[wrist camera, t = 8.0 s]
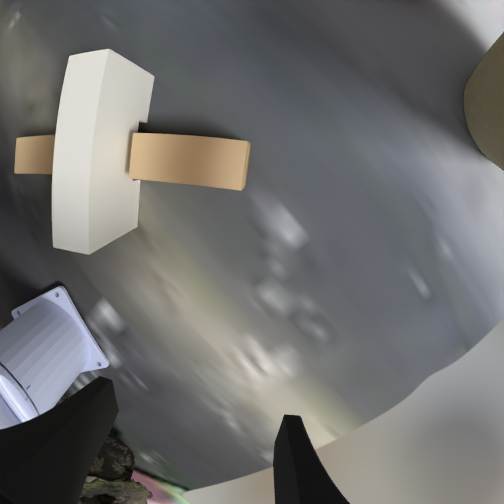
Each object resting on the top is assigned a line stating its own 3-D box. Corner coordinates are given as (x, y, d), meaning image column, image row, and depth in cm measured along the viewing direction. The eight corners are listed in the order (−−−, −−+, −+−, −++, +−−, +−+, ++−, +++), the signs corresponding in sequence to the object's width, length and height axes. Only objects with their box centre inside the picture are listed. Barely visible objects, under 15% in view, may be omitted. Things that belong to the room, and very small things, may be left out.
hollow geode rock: (132, 381, 29) (4, 386, 18) (191, 477, 22) (42, 513, 10) (100, 468, 37) (26, 476, 25) (135, 526, 29) (56, 544, 17)
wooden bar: (40, 169, 18) (14, 173, 15) (42, 137, 17) (16, 137, 14) (245, 185, 18) (240, 190, 15) (251, 144, 17) (247, 141, 14)
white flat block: (106, 222, 19) (53, 247, 13) (121, 78, 16) (69, 55, 10) (137, 226, 19) (89, 254, 13) (154, 76, 16) (109, 49, 10)
